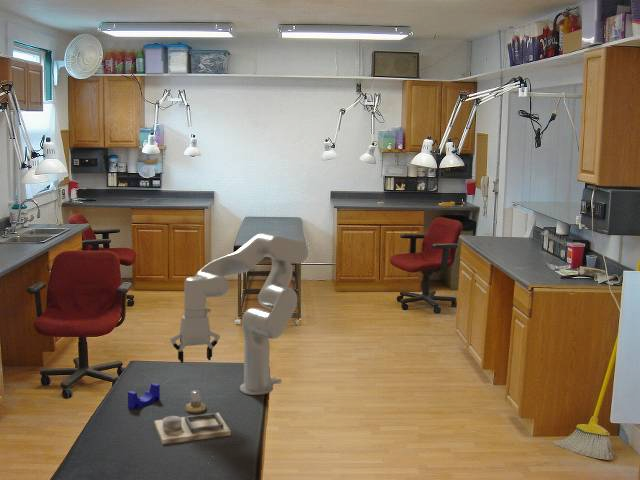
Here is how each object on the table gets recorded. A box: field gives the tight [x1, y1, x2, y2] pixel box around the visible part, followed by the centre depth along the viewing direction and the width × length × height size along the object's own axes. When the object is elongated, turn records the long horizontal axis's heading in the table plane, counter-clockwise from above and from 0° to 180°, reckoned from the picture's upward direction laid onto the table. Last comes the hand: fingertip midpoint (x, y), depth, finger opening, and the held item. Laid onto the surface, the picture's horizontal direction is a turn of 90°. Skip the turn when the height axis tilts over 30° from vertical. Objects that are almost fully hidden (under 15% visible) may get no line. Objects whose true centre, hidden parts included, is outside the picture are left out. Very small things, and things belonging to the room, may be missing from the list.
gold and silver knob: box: [185, 389, 207, 414], centre depth 267 cm, size 7×7×6 cm
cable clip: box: [127, 382, 161, 410], centre depth 271 cm, size 12×4×6 cm, turn 143°
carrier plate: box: [153, 412, 232, 445], centre depth 250 cm, size 22×16×4 cm
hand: (195, 360), depth 264 cm, fingers open, 9 cm apart
